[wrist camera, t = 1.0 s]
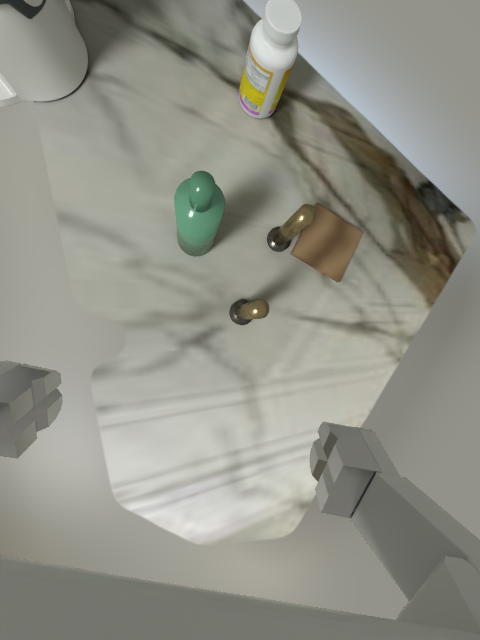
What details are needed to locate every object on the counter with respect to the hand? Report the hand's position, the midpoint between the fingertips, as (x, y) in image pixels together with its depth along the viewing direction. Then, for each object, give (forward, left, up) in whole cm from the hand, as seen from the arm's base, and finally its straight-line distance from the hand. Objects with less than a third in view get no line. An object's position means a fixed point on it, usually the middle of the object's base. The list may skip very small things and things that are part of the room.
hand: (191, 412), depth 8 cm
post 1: (+6, +8, -34) cm, 36 cm away
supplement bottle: (-8, +41, -34) cm, 54 cm away
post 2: (+6, +22, -34) cm, 41 cm away
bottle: (-6, +15, -34) cm, 38 cm away
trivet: (+14, +26, -34) cm, 45 cm away
